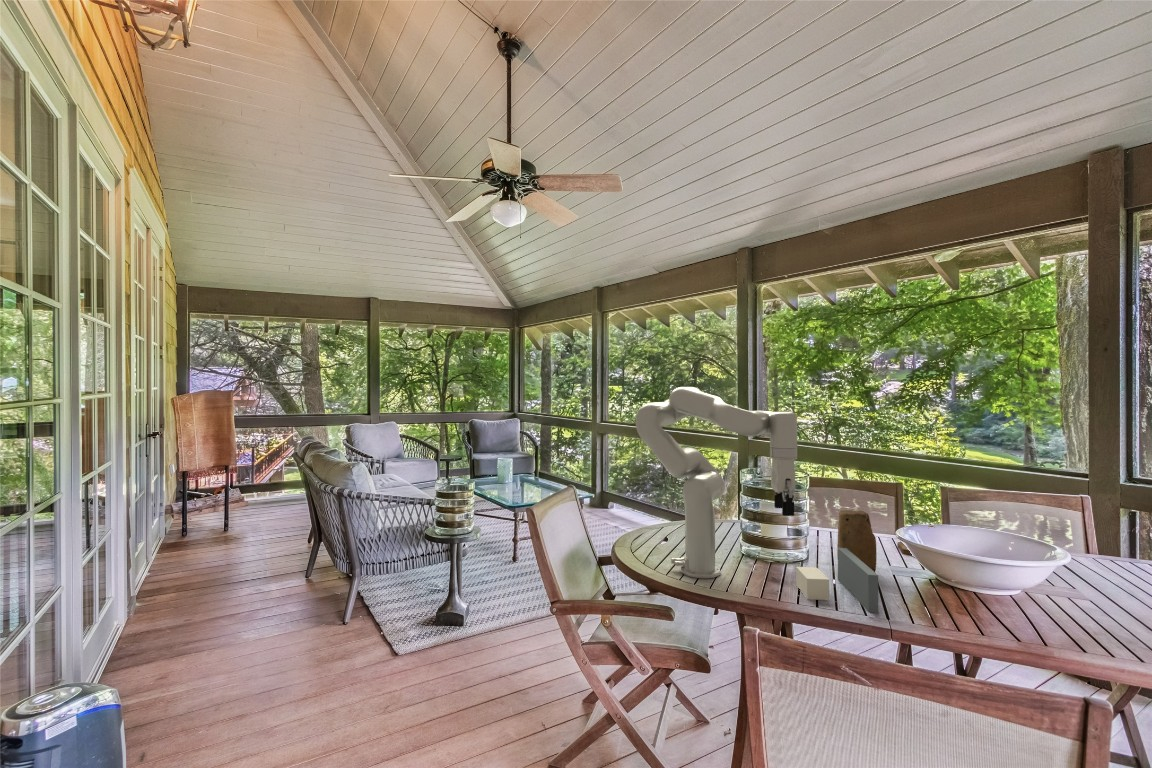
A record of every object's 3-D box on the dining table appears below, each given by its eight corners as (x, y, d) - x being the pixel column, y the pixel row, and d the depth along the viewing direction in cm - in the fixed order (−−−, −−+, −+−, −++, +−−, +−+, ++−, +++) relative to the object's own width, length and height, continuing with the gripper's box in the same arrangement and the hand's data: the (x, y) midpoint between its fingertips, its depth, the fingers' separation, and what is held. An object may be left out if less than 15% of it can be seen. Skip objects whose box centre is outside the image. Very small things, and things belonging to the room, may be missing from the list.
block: (839, 575, 171) (839, 512, 171) (836, 567, 178) (836, 507, 178) (878, 579, 168) (877, 515, 168) (873, 571, 175) (873, 510, 175)
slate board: (868, 612, 144) (868, 574, 144) (837, 579, 167) (837, 547, 167) (878, 612, 143) (878, 575, 143) (846, 580, 167) (846, 548, 167)
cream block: (807, 599, 152) (807, 578, 152) (796, 586, 162) (796, 566, 162) (829, 600, 152) (829, 579, 152) (816, 587, 162) (816, 567, 162)
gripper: (764, 449, 168) (764, 505, 168) (777, 457, 150) (777, 518, 150) (789, 450, 167) (789, 505, 167) (805, 457, 149) (806, 519, 149)
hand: (784, 511), depth 158 cm, fingers open, 9 cm apart
